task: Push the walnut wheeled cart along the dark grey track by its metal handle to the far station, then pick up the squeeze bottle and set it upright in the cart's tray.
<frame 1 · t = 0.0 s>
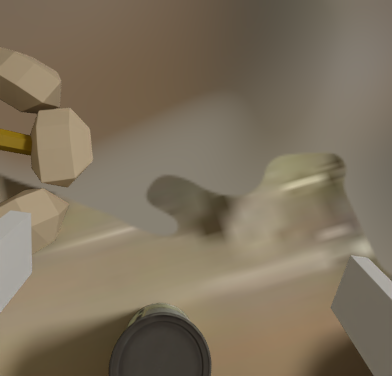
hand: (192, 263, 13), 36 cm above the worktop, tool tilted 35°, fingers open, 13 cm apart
coffee can: (160, 339, 45), on the worktop
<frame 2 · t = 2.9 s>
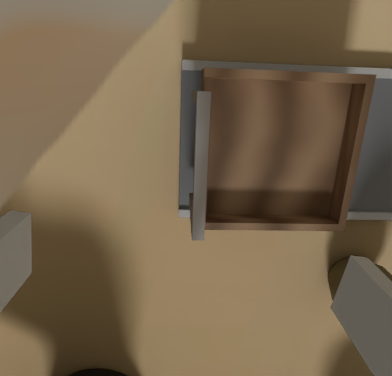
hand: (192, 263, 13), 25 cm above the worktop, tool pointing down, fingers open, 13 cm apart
track: (336, 147, 37), on the worktop
squeeze bottle: (347, 273, 43), on the worktop
cart: (277, 157, 30), point 7 cm above the worktop, slide at 0.0 cm
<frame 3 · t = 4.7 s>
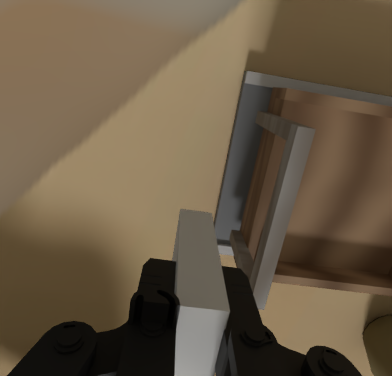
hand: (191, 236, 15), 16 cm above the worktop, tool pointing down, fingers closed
squeeze bottle: (384, 331, 39), on the worktop
cart: (352, 207, 25), point 7 cm above the worktop, slide at 0.0 cm
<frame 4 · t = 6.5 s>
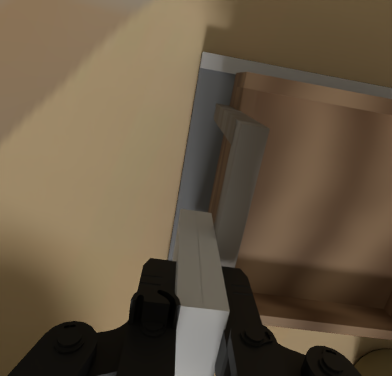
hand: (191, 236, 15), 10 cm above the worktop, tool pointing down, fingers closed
squeeze bottle: (377, 366, 33), on the worktop
cart: (337, 231, 19), point 7 cm above the worktop, slide at 0.2 cm, touching gripper
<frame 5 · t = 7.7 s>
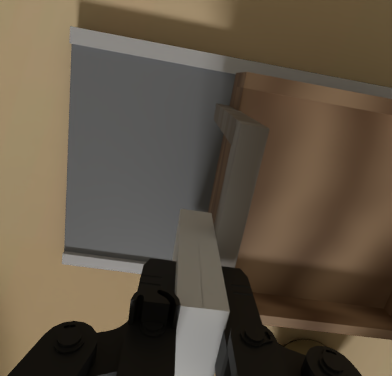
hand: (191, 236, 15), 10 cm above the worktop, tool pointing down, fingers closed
track: (304, 192, 26), on the worktop
squeeze bottle: (300, 357, 32), on the worktop
cart: (337, 231, 19), point 7 cm above the worktop, slide at 8.9 cm, touching gripper
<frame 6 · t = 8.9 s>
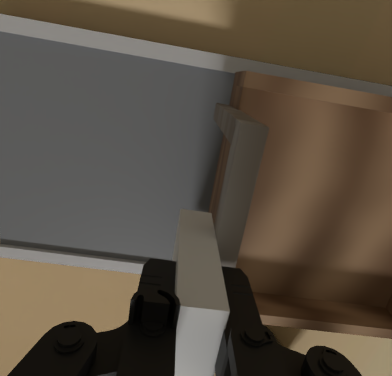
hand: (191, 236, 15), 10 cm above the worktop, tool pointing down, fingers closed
track: (244, 182, 25), on the worktop
cart: (338, 230, 19), point 7 cm above the worktop, slide at 14.1 cm, touching gripper
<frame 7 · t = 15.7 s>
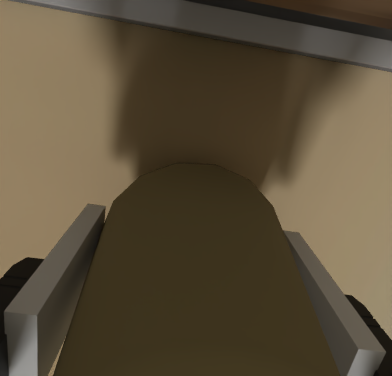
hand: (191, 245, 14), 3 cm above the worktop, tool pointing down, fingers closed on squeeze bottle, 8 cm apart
squeeze bottle: (190, 213, 17), on the worktop, touching gripper
when the fingers open (9 cm above the worktop, at t = 21.6 s): squeeze bottle drops 2 cm, resting on cart.
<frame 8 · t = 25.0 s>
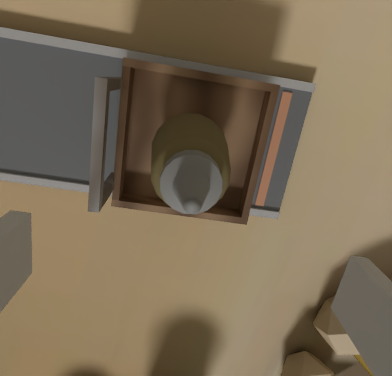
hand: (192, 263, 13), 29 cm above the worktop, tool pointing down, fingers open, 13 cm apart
track: (149, 131, 39), on the worktop
squeeze bottle: (189, 144, 36), point 4 cm above the worktop, touching cart
campfire: (375, 353, 54), on the worktop
cart: (186, 149, 33), point 7 cm above the worktop, slide at 14.3 cm, touching squeeze bottle
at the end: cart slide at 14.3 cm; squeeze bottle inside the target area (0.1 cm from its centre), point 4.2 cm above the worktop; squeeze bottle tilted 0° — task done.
